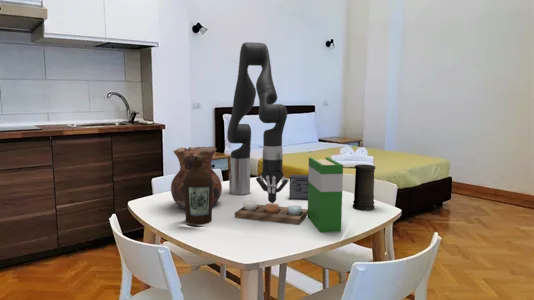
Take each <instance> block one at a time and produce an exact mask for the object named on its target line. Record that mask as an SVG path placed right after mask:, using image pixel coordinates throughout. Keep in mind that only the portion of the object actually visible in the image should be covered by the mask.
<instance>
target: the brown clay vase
mask: <svg viewBox="0 0 534 300" xmlns="http://www.w3.org/2000/svg"><path fill="white" fill-rule="evenodd" d="M172 152H173V153H174V155H175V156H176V157H177V160H178V163H179V171H178V172H177V174H175V175H174V177H173V179H172V180H171V185H170V193H171V197H172V199H173V201H174V202H175V204H176V205H178V207H180V208H182V209H183V210H185V198H184V185H183V182H184V178H185V176H186V174H187V173H188V172H189V171H190V170H191V169H192V168H193V160H194V158H193V157H194V156H202V160H203V167H204V168H205V169H206V170H207V171H208V172H209V174H210V175H211V177H212V180H213V194H212V207H213V206H215V205H216V204H217V203H218V201H219V199H220V198H221V195H222V191H223V185H222V181H221V180H220V177H219V175H218V174H217V173H216V172H215V171H214V170H213V169H212V161H213V160H212V159H213V157H214V154H215V153H216V152H217V147H216V146H195V147H191V146H189V147H188V148H186V147H178V148H177V149H174V150H173V151H172Z"/></svg>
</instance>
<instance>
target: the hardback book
mask: <svg viewBox="0 0 534 300" xmlns="http://www.w3.org/2000/svg"><path fill="white" fill-rule="evenodd" d="M307 175H308V200H307V209H308V215H307V218H308V220H309V221H310V222H311V223H312V225H313V226H314V227H315V228H316V230H318V232H319V233H335V232H336V233H339V232H342V213H343V211H342V210H343V181H344V179H343V178H344V164H342V163H341V162H338V161H336V160H334V159H332V158H331V157H327V156H326V157H325V158H322V159H318V158H317V159H314V158H313V157H308V174H307Z"/></svg>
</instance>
